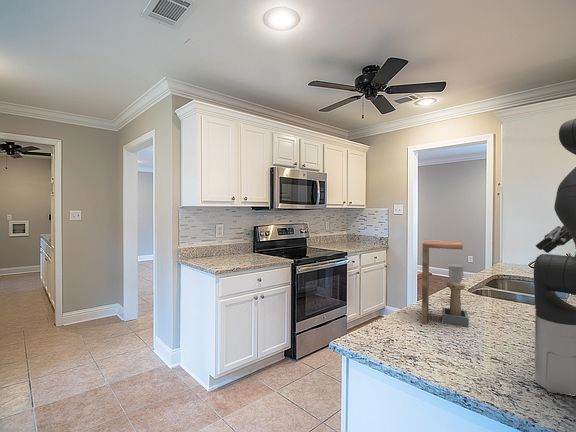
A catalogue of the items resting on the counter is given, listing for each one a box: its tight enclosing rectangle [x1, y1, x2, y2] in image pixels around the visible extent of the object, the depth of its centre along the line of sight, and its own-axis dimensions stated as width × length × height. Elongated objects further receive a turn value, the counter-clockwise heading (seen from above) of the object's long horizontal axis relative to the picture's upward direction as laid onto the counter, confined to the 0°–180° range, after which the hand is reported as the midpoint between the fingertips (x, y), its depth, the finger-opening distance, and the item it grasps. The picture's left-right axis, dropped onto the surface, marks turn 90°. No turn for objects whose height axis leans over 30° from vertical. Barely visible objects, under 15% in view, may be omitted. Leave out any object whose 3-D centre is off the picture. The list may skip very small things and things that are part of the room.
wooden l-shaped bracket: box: [421, 239, 463, 325], centre depth 126 cm, size 18×14×32 cm
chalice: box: [447, 264, 465, 284], centre depth 148 cm, size 7×7×18 cm
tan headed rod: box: [446, 281, 466, 316], centre depth 124 cm, size 5×6×15 cm
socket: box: [441, 307, 470, 328], centre depth 124 cm, size 10×9×4 cm
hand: (540, 249), depth 110 cm, fingers open, 8 cm apart
